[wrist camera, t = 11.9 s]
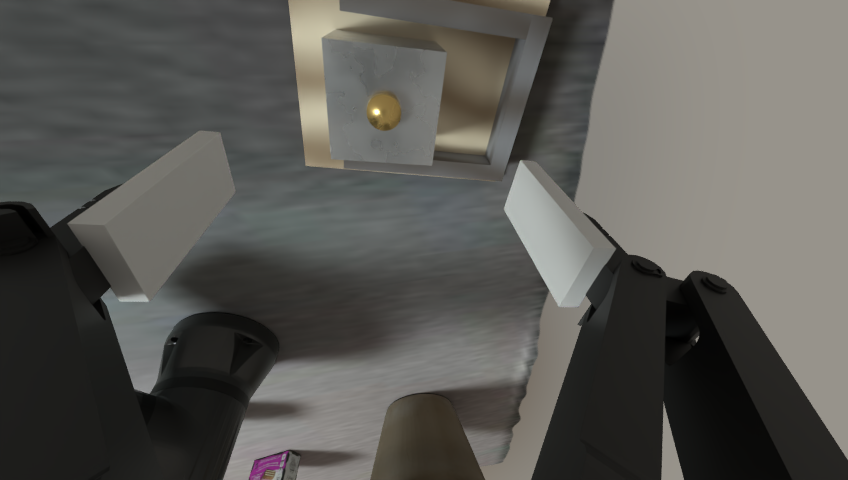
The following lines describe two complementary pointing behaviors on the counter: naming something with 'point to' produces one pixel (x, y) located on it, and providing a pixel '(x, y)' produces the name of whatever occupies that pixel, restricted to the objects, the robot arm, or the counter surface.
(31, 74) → the counter surface
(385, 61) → the lock block
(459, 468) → the plant pot
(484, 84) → the board
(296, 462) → the candy bar box
